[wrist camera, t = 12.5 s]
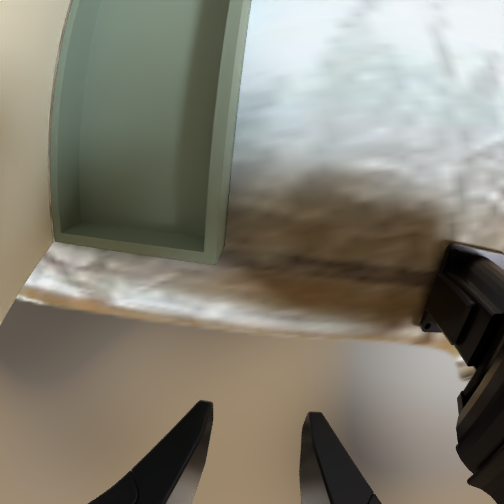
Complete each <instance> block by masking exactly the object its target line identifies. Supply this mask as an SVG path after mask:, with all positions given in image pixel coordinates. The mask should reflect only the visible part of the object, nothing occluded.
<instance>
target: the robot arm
mask: <svg viewBox="0 0 504 504" xmlns="http://www.w3.org/2000/svg"><path fill="white" fill-rule="evenodd" d="M454 249H455V252H454V253H453V254H452V251H453V250H454ZM427 323H428V325H426V324H427ZM425 325H426V326H425ZM420 328H421V329H422V331H423V332H443V334H444V335H445V337H446V338H447V340H448V341H449V343H450V344H451V345H454V346H455V348H456V349H457V351H458V352H459V354H460V355H461V357H462V358H463V360H464V361H465V363H466V364H467V366H473V367H474V369H475V370H476V371H475V373H474V374H473V376H472V378H471V379H470V381H469V383H468V384H467V386H466V387H465V389H464V391H461V393H460V395H459V396H458V398H457V402H458V411H459V417H458V421H457V426H456V431H457V439H458V444H457V445H456V451H457V453H458V455H459V457H460V459H461V460H462V462H463V463H464V464H465V466H466V467H467V468H468V469H469V470H470V471H471V472H472V473H473V475H472V476H471V477H470V478H469V479H468V480H467V483H468V484H469V485H471V486H474V487H477V488H480V489H482V490H483V491H484V492H486V493H487V494H489V495H490V496H491V497H492V498H493V499H494V500H495V501H496V503H497V504H504V253H499V252H495V251H490V250H486V249H481V248H476V247H471V246H466V245H461V244H457V243H451V244H449V246H448V247H447V249H446V252H445V255H444V259H443V262H442V265H441V268H440V271H439V274H438V276H437V279H436V282H435V285H434V287H433V290H432V293H431V296H430V298H429V301H428V303H427V306H426V310H425V312H424V315H423V317H422V319H421V322H420ZM212 424H213V403H212V402H210V401H205V400H200V401H198V402H197V403H196V404H195V405H194V407H193V408H192V409H191V410H190V411H189V412H188V413H187V414H186V415H185V416H184V417H183V418H182V419H181V420H180V421H179V422H178V423H177V424H176V425H175V427H173V429H172V430H171V431H170V432H169V433H168V434H167V435H166V436H165V437H164V438H163V439H162V440H161V441H160V442H159V443H158V444H157V445H156V446H155V447H154V448H153V449H152V450H151V451H150V452H149V453H148V454H147V455H146V456H145V457H144V458H143V459H142V460H141V461H140V462H139V463H138V464H137V465H136V466H134V467H133V468H132V471H129V472H128V473H127V474H126V475H125V476H124V477H123V478H122V479H121V480H119V481H118V482H117V483H116V484H115V485H114V486H112V487H111V488H110V489H108V490H107V491H106V492H104V493H103V494H102V495H100V496H99V497H97V498H96V499H94V500H93V501H91V502H90V503H88V504H192V501H193V498H194V495H195V492H196V489H197V487H198V483H199V481H200V478H201V474H202V472H203V469H204V466H205V462H206V457H207V452H208V447H209V441H210V435H211V430H212ZM299 476H300V492H301V504H381V502H380V501H379V499H378V498H377V496H376V495H375V494H373V491H372V489H371V488H370V486H369V485H368V483H367V482H366V480H365V479H364V477H363V476H362V474H361V473H360V471H359V470H358V468H357V466H356V465H355V463H354V462H353V460H352V459H351V458H350V456H349V454H348V453H347V451H346V450H345V448H344V447H343V445H342V444H341V442H340V441H339V439H338V437H337V436H336V434H335V433H334V431H333V430H332V428H331V426H330V425H329V423H328V422H327V420H326V419H325V417H324V416H323V414H322V413H321V412H308V413H307V416H306V419H305V421H304V424H303V427H302V436H301V454H300V470H299Z"/></svg>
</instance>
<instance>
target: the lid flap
mask: <svg viewBox="0 0 504 504" xmlns="http://www.w3.org/2000/svg"><path fill="white" fill-rule="evenodd" d="M69 4H70V0H0V325H1V323H2V321H3V319H4V317H5V316H6V314H7V312H8V310H9V309H10V307H11V305H12V303H13V302H14V300H15V298H16V297H17V295H18V294H19V292H20V290H21V289H22V287H23V286H24V284H25V282H26V281H27V279H28V278H29V276H30V275H31V273H32V272H33V270H34V269H35V267H36V266H37V264H38V263H39V261H40V260H41V259H42V257H43V256H44V254H45V253H46V252H47V250H48V249H49V247H50V246H51V245H52V243H53V238H52V229H51V219H50V206H49V189H48V134H49V117H50V105H51V95H52V86H53V79H54V72H55V66H56V60H57V54H58V49H59V44H60V39H61V35H62V30H63V26H64V22H65V18H66V14H67V11H68V7H69Z"/></svg>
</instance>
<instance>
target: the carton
mask: <svg viewBox="0 0 504 504" xmlns="http://www.w3.org/2000/svg"><path fill="white" fill-rule="evenodd" d="M250 7H251V0H73V1H72V4H71V8H70V11H69V15H68V19H67V23H66V27H65V31H64V36H63V40H62V45H61V50H60V55H59V61H58V67H57V73H56V80H55V88H54V97H53V107H52V120H51V139H50V185H51V204H52V218H53V228H54V237H55V242H61V243H68V244H74V245H80V246H87V247H93V248H99V249H106V250H112V251H119V252H126V253H132V254H139V255H146V256H153V257H160V258H167V259H174V260H181V261H188V262H195V263H203V264H210V265H216V263H217V261H218V258H219V256H220V254H221V252H222V250H223V248H224V246H225V234H226V222H227V210H228V199H229V188H230V177H231V167H232V157H233V147H234V137H235V128H236V118H237V109H238V100H239V92H240V83H241V75H242V67H243V59H244V51H245V43H246V36H247V28H248V21H249V14H250Z"/></svg>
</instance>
